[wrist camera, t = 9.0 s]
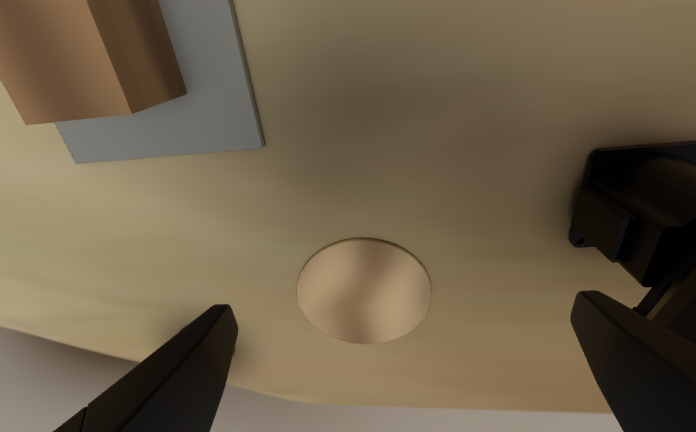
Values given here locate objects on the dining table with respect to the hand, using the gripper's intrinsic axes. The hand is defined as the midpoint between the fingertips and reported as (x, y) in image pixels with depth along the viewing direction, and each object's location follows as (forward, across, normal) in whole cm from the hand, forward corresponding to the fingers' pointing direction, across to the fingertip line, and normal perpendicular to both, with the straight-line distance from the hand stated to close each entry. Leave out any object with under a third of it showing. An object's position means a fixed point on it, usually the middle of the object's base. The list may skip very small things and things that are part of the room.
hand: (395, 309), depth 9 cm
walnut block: (+12, +13, -7) cm, 19 cm away
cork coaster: (+13, +2, +11) cm, 17 cm away
